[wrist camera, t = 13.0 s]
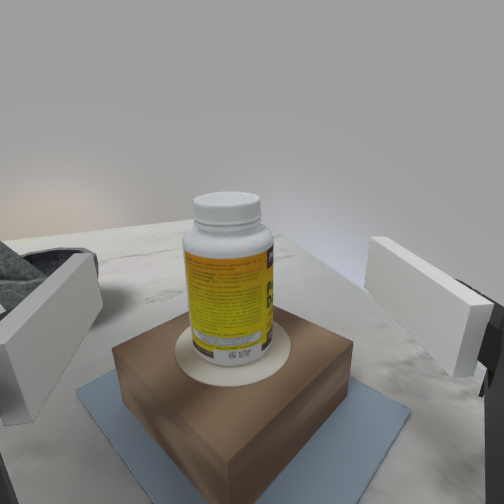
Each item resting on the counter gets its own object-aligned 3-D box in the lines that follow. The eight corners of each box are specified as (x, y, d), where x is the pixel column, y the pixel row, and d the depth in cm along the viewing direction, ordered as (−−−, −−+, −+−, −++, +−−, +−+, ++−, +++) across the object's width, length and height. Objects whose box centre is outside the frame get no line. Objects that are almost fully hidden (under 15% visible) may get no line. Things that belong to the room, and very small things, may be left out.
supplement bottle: (282, 364, 20) (285, 204, 17) (193, 376, 19) (176, 211, 16) (263, 316, 25) (262, 187, 22) (192, 325, 25) (179, 191, 21)
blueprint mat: (76, 394, 26) (75, 390, 26) (226, 314, 36) (225, 310, 36) (264, 660, 13) (264, 655, 13) (410, 413, 23) (411, 409, 23)
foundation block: (123, 402, 24) (111, 345, 22) (237, 332, 32) (236, 286, 30) (231, 529, 16) (227, 458, 15) (347, 396, 25) (353, 339, 23)
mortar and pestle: (100, 291, 42) (81, 200, 38) (114, 326, 34) (92, 217, 30) (-7, 318, 36) (-43, 214, 32) (-18, 366, 29) (-68, 240, 25)
